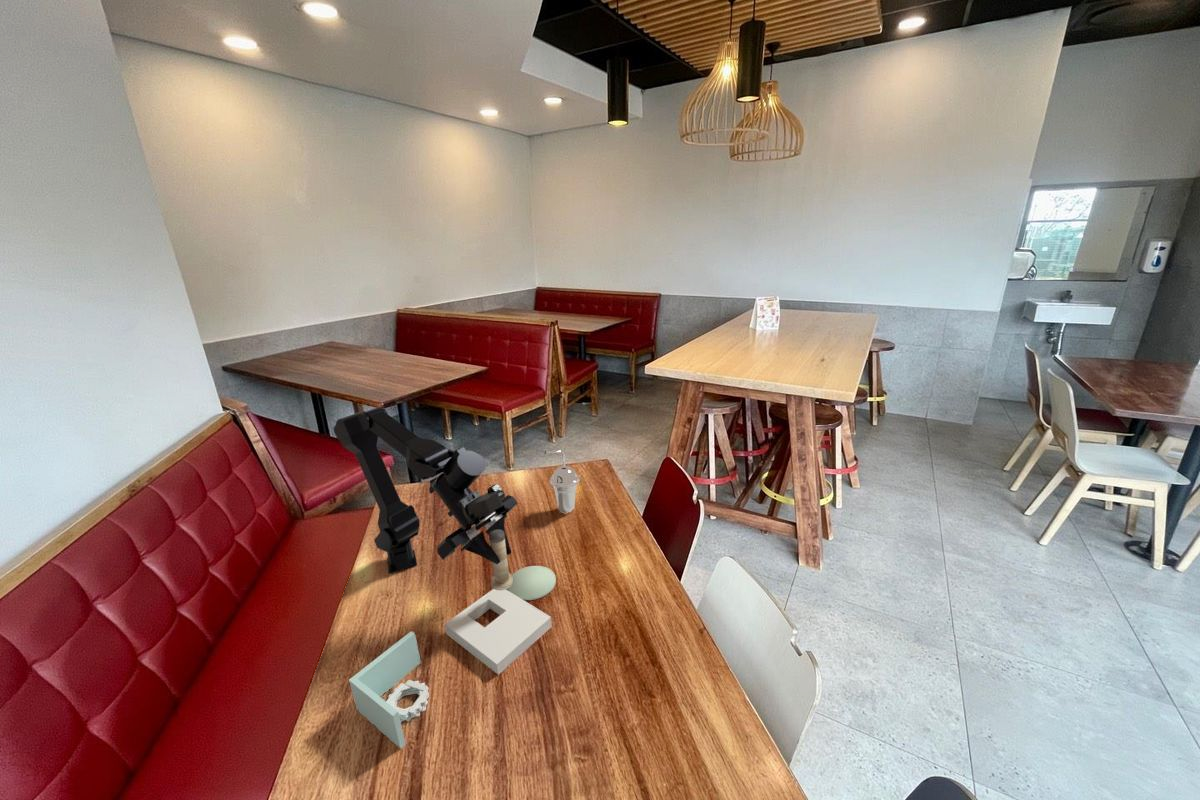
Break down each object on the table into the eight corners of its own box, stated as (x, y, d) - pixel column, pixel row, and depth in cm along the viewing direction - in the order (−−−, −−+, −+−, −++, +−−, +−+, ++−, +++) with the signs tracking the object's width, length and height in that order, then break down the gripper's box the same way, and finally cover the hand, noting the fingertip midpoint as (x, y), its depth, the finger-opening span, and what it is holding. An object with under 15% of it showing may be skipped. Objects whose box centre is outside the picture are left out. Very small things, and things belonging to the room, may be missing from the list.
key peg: (487, 586, 98) (480, 536, 94) (501, 573, 102) (495, 525, 98) (503, 593, 96) (497, 542, 92) (517, 580, 100) (512, 531, 96)
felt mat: (502, 576, 111) (501, 575, 111) (545, 562, 116) (545, 560, 116) (516, 606, 102) (515, 604, 102) (563, 589, 106) (563, 587, 106)
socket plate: (446, 633, 95) (444, 624, 95) (499, 594, 106) (498, 584, 105) (498, 674, 86) (497, 664, 85) (551, 626, 96) (550, 616, 95)
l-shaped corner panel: (401, 751, 74) (392, 716, 72) (357, 713, 80) (348, 679, 78) (460, 691, 83) (455, 659, 81) (417, 662, 90) (411, 631, 87)
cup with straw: (580, 518, 134) (577, 453, 128) (548, 518, 134) (543, 454, 128) (581, 502, 142) (578, 441, 136) (551, 502, 142) (547, 441, 136)
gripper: (439, 501, 86) (490, 570, 84) (507, 460, 101) (552, 518, 99) (416, 527, 92) (464, 592, 90) (483, 485, 107) (525, 540, 105)
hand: (504, 558), depth 96 cm, fingers closed on key peg, 3 cm apart
